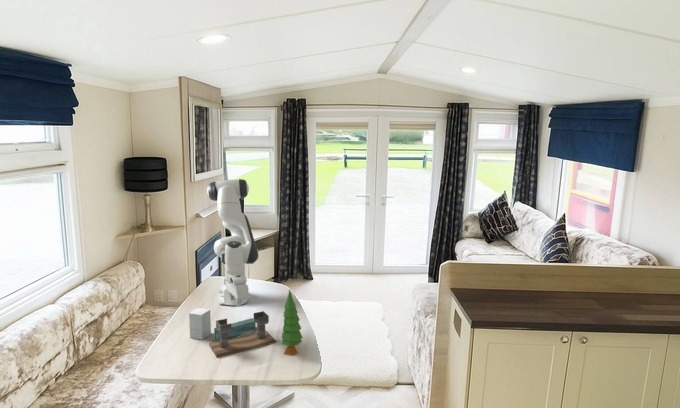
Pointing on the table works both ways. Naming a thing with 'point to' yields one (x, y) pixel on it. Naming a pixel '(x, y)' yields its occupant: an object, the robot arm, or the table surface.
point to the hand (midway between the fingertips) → (235, 302)
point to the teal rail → (237, 329)
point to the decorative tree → (291, 327)
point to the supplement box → (200, 323)
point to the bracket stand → (241, 337)
